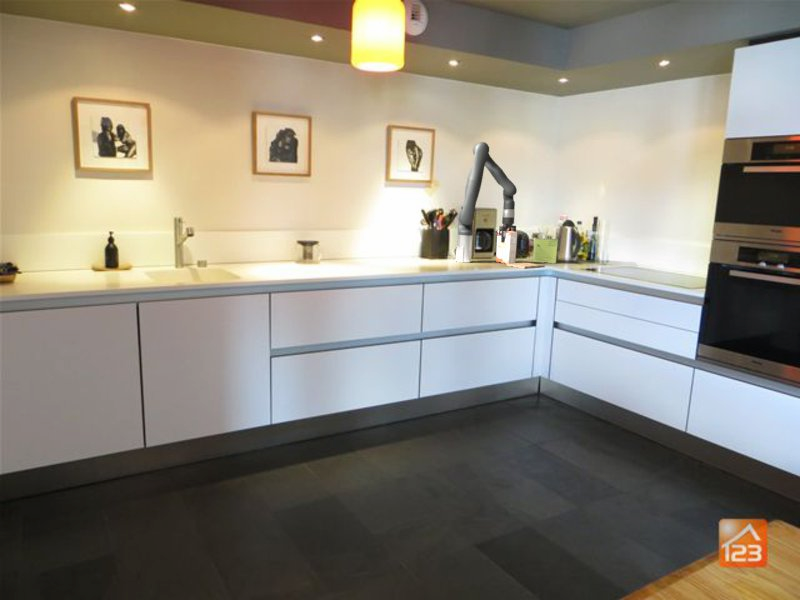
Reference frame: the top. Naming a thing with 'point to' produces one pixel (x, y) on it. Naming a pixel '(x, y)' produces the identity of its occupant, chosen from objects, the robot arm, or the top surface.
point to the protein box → (545, 250)
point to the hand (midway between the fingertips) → (506, 241)
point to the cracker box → (506, 248)
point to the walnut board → (525, 265)
